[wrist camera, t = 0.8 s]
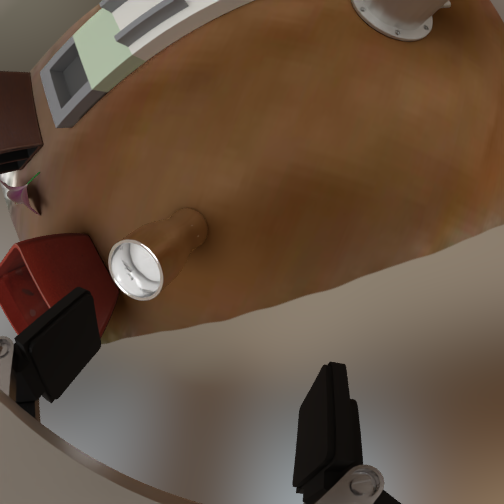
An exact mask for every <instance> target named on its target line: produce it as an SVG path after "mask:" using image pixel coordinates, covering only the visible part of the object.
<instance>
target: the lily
mask: <svg viewBox="0 0 504 504" xmlns="http://www.w3.org/2000/svg"><path fill="white" fill-rule="evenodd" d="M39 173H40V172H38V173H37V174H36V175H35V176H34V177H33V178H32V179H31V180H30V181H29V182H28V183H27V184H26V185H25V186H21V187H10V186H8V185H7V184H6V183H5V182H4V183H3V182H2V181H1V180H0V181H1V183H2V184H3V185H4V186H5V187H6V188H8V189H9V190H10V191H8V193H7V196H8V198H9V199H11V200H12V201H14V202H15V204H16V203H18V204H22V203H24V204H25V205H26V206H27V207H28V208H29V209H30V210H32V211H33V212H34V213H36V214H38V215H40V214H39V213H37V212H36V211H35V210H34V209H32V208H31V206H30V204H29V199H28V193H27V185H28V184H29V183H30V182H31V181H32V180H33V179H34V178H35V177H36V176H37V175H38V174H39Z"/></svg>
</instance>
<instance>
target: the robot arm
mask: <svg viewBox="0 0 504 504" xmlns="http://www.w3.org/2000/svg"><path fill="white" fill-rule="evenodd" d="M351 3H352V5H353V7H354V9H355V11H356V12H357V13H358V15H359V16H360V17H361V18H362V19H363V20H364V21H365V22H366V23H367V24H368V25H370V26H371V27H372V28H374V29H375V30H377V31H378V32H380V33H382V34H384V35H386V36H388V37H391V38H394V39H397V40H401V41H417V40H420V39H422V38H424V37H425V36H426V35H427V34H428V33H430V31H431V29H432V25H433V18H432V15H433V14H434V13H435V12H436V11H437V10H438V9H440V8H450V7H451V3H450V1H449V0H351ZM362 11H363V12H362ZM15 341H16V343H15V344H13V342H12V340H11V339H10V338H8V337H4V336H1V337H0V504H202V503H198V502H195V501H191V500H188V499H184V498H182V497H178V496H176V495H173V494H170V493H167V492H164V491H162V490H159V489H156V488H154V487H152V486H149V485H147V484H144V483H142V482H140V481H137V480H135V479H133V478H131V477H128V476H126V475H124V474H122V473H120V472H118V471H116V470H114V469H112V468H110V467H108V466H106V465H105V464H103V463H101V462H99V461H97V460H95V459H94V458H92V457H90V456H89V455H87V454H85V453H83V452H81V451H80V450H79V449H77V448H75V447H74V446H72V445H71V444H69V443H68V442H66V441H65V440H63V439H62V438H60V437H59V436H57V435H56V434H54V433H53V432H52V431H50V430H49V429H48V428H46V427H45V426H44V425H42V424H41V423H40V407H39V398H40V397H41V395H42V396H43V397H44V398H45V399H46V400H48V401H49V402H50V403H52V402H53V401H54V400H55V399H58V398H59V397H60V396H61V395H62V393H63V392H64V391H65V390H66V389H67V387H68V386H69V385H70V384H71V382H72V381H73V380H74V379H75V377H76V376H77V375H78V374H79V373H80V372H81V370H82V369H83V368H84V367H85V366H86V364H87V363H88V362H89V361H90V360H91V359H92V357H93V356H94V355H95V354H96V353H97V352H98V350H99V349H100V347H101V339H100V334H99V329H98V324H97V318H96V312H95V305H94V299H93V296H92V295H91V292H90V291H88V290H86V289H84V288H81V287H76V288H75V289H73V290H72V291H71V292H70V293H68V294H67V295H66V296H64V297H63V298H62V299H61V300H59V301H58V302H57V303H56V304H54V305H53V306H52V307H51V308H49V309H48V310H47V311H46V312H45V313H43V314H42V315H41V316H40V317H38V318H37V319H36V320H35V321H34V322H33V323H31V324H30V325H29V326H28V327H27V328H26V329H24V330H23V331H22V332H21V333H20V334H19V335H18V336H16V337H15ZM293 487H297V489H296V493H301V494H303V502H304V504H401V503H400V502H398V501H397V500H396V499H394V498H393V497H392V496H391V495H389V494H388V493H386V491H384V490H383V488H384V478H383V476H382V474H381V472H380V471H379V470H377V469H376V468H374V467H373V466H370V465H363V456H362V443H361V432H360V424H359V414H358V406H357V402H356V401H355V400H354V399H350V395H349V388H348V378H347V370H346V365H345V364H340V363H335V362H329V364H328V365H323V367H322V368H321V370H320V372H319V374H318V376H317V378H316V380H315V382H314V383H313V385H312V387H311V389H310V391H309V392H308V394H307V396H306V398H305V399H304V401H303V403H302V405H301V407H300V410H299V419H298V432H297V444H296V456H295V465H294V474H293Z"/></svg>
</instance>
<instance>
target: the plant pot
mask: <svg viewBox="0 0 504 504" xmlns="http://www.w3.org/2000/svg"><path fill="white" fill-rule="evenodd" d="M76 287H81V288H84V289H86V290H88V291H90V292H91V295H92V296H93V299H94V305H95V312H96V318H97V324H98V329H99V334H100V339H101V337H102V335H103V333H104V331H105V329H106V326H107V324H108V322H109V320H110V317H111V315H112V313H113V310H114V307H115V304H116V302H117V299H118V295H119V290H118V288H117V287H116V285H115V283H114V282H113V280H112V278H111V276H110V275H109V273H108V271H107V269H106V268H105V266H104V264H103V262H102V260H101V258H100V257H99V255H98V253H97V251H96V249H95V247H94V245H93V243H92V241H91V239H90V237H89V236H88V235H87V234H80V233H64V234H53V235H46V236H41V237H36V238H32V239H28V240H24V241H21V242H18V243H15V244H14V245H13V246H12V247H11V249H10V250H9V252H8V253H7V254H6V256H5V257H4V259H3V260H2V262H1V263H0V305H1V307H2V309H3V311H4V313H5V315H6V316H7V318H8V320H9V322H10V323H11V325H12V327H13V328H14V330H15V331H16V333H17V334H18V335H19V334H20V333H21V332H22V331H23V330H24V329H26V328H27V327H28V326H29V325H30V324H31V323H33V322H34V321H35V320H36V319H37V318H38V317H40V316H41V315H42V314H43V313H45V312H46V311H47V310H48V309H49V308H51V307H52V306H53V305H54V304H56V303H57V302H58V301H59V300H61V299H62V298H63V297H64V296H66V295H67V294H68V293H70V292H71V291H72V290H73V289H75V288H76Z"/></svg>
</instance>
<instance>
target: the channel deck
mask: <svg viewBox="0 0 504 504" xmlns="http://www.w3.org/2000/svg"><path fill="white" fill-rule="evenodd" d="M252 1H254V0H103V1H101V2H100V3H99V4H100V7H102V9H101V10H99V11H98V12H97V13H96V14H95V15H94V16H93V17H92V18H90V19H89V20H88V21H87V22H86V23H85V24H84V25H83V26H82V27H81V28H80V29H79V30H78V31H77V32H76V33H75V34H74V35H73V36H72V37H71V38H70V39H69V40H68V41H67V42H66V43H65V44H64V45H63V46H62V47H61V48H60V49H59V51H58V52H57V53H56V54H55V55H54V56H53V57H52V59H51V60H50V61H49V62H48V63H47V64H46V66H45V67H44V68H43V69H42V71H41V72H40V75H41V79H42V83H43V87H44V91H45V94H46V98H47V101H48V104H49V108H50V111H51V114H52V117H53V120H54V123H55V126H56V128H70V127H73V126H74V125H75V124H76V123H77V122H78V121H79V119H80V118H81V117H82V116H83V115H84V114H85V113H86V112H87V111H88V110H89V109H90V108H91V107H93V106H94V105H95V104H96V103H97V102H98V101H99V100H100V99H101V98H102V97H103V96H104V95H105V94H106V93H108V92H109V91H110V90H111V89H112V88H113V87H114V86H116V85H117V84H118V83H119V82H120V81H122V80H123V79H124V78H125V77H126V76H128V75H129V74H130V73H131V72H133V71H134V70H135V69H137V68H138V67H139V66H141V65H142V64H143V63H145V62H146V61H147V60H149V59H150V58H151V57H153V56H154V55H156V54H157V53H158V52H160V51H161V50H163V49H164V48H166V47H167V46H169V45H170V44H172V43H174V42H175V41H177V40H178V39H180V38H181V37H183V36H185V35H186V34H188V33H190V32H191V31H193V30H195V29H197V28H198V27H200V26H202V25H204V24H206V23H208V22H209V21H211V20H213V19H215V18H217V17H219V16H221V15H223V14H225V13H227V12H229V11H231V10H234V9H236V8H238V7H240V6H242V5H245V4H247V3H249V2H252Z"/></svg>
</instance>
